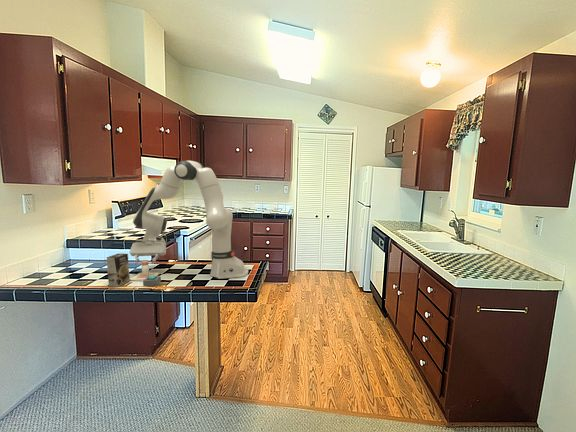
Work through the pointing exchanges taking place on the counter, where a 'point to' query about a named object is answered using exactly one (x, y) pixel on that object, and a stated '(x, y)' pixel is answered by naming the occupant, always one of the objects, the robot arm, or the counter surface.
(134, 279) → the picture board
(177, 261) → the counter surface
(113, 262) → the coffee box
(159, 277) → the button housing
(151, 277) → the button
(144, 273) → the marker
